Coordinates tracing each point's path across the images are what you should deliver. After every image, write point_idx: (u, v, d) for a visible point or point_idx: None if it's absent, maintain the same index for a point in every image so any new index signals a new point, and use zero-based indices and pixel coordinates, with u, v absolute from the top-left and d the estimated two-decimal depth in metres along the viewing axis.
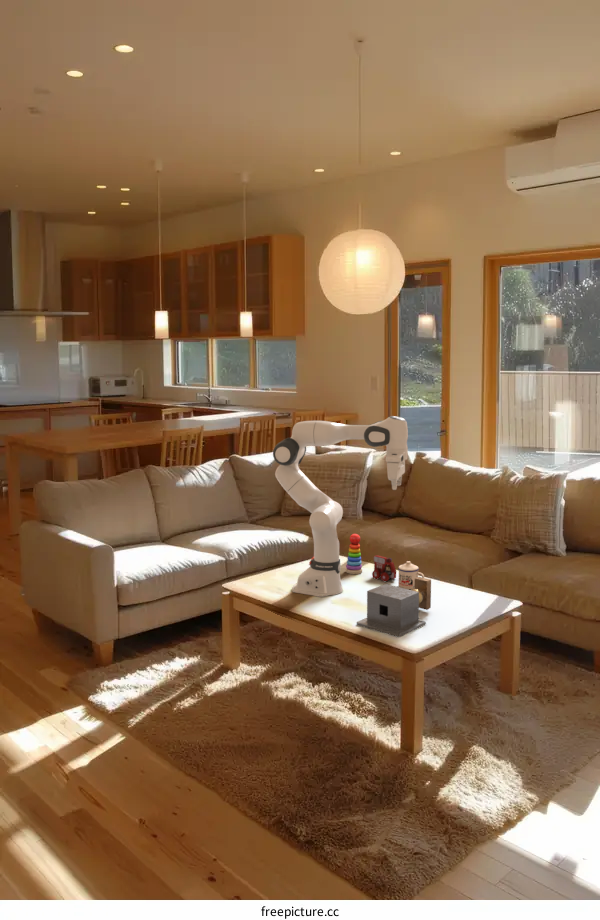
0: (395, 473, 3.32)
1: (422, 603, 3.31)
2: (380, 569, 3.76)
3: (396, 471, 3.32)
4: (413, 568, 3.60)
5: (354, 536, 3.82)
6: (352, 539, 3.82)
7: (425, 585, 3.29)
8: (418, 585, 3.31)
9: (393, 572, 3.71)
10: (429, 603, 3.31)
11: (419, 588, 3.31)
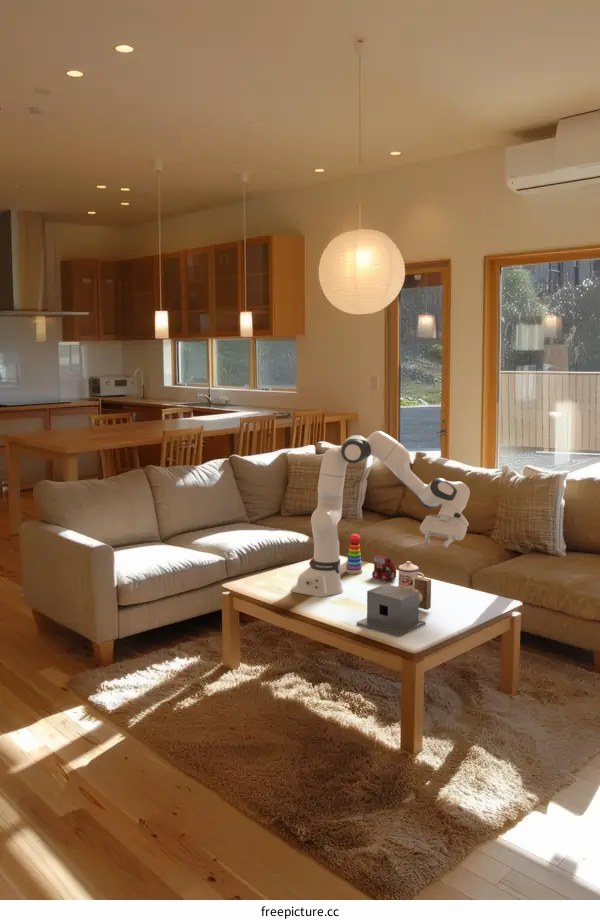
0: (464, 534, 3.32)
1: (422, 603, 3.31)
2: (380, 569, 3.76)
3: (465, 533, 3.33)
4: (413, 568, 3.60)
5: (354, 536, 3.82)
6: (352, 539, 3.82)
7: (425, 585, 3.29)
8: (418, 585, 3.31)
9: (393, 572, 3.71)
10: (429, 603, 3.31)
11: (419, 588, 3.31)
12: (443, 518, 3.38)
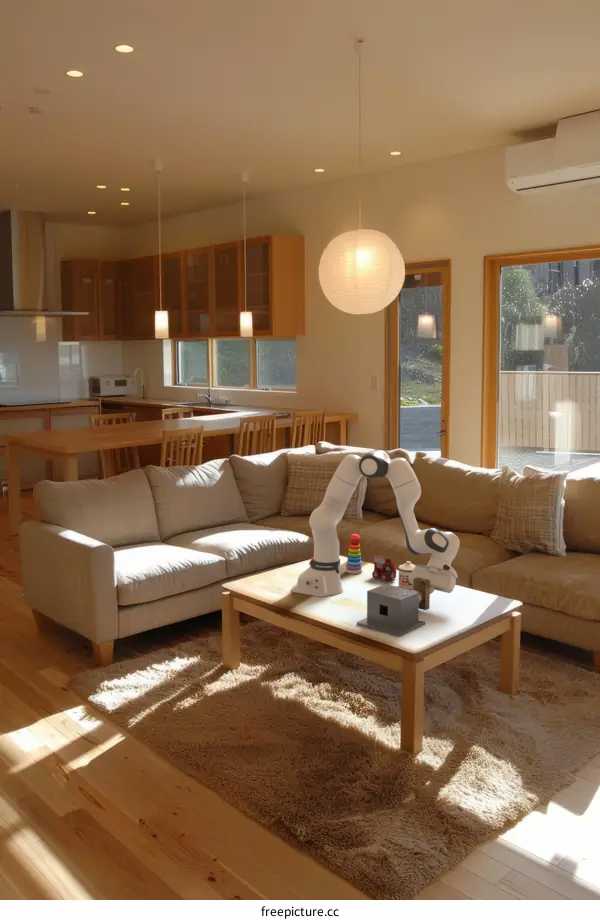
0: (453, 587, 3.30)
1: (421, 604, 3.30)
2: (380, 569, 3.76)
3: (454, 585, 3.31)
4: (413, 568, 3.60)
5: (354, 536, 3.82)
6: (352, 539, 3.82)
7: (423, 585, 3.28)
8: (417, 585, 3.30)
9: (393, 572, 3.71)
10: (428, 604, 3.30)
11: (418, 589, 3.30)
12: (432, 569, 3.35)
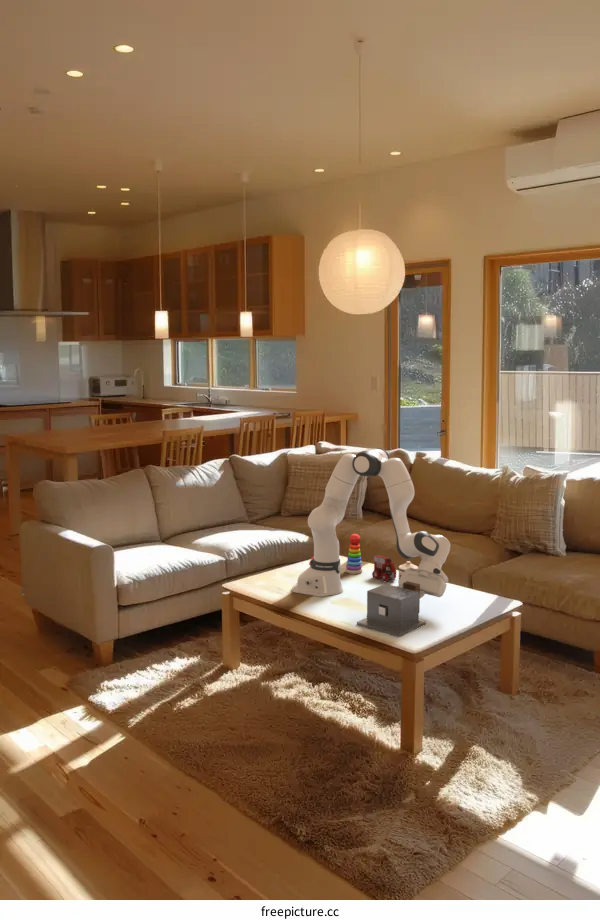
0: (444, 591, 3.25)
1: None
2: (380, 569, 3.76)
3: (444, 589, 3.26)
4: (413, 568, 3.60)
5: (354, 536, 3.82)
6: (352, 539, 3.82)
7: (413, 590, 3.23)
8: None
9: (393, 572, 3.71)
10: None
11: None
12: (422, 573, 3.30)
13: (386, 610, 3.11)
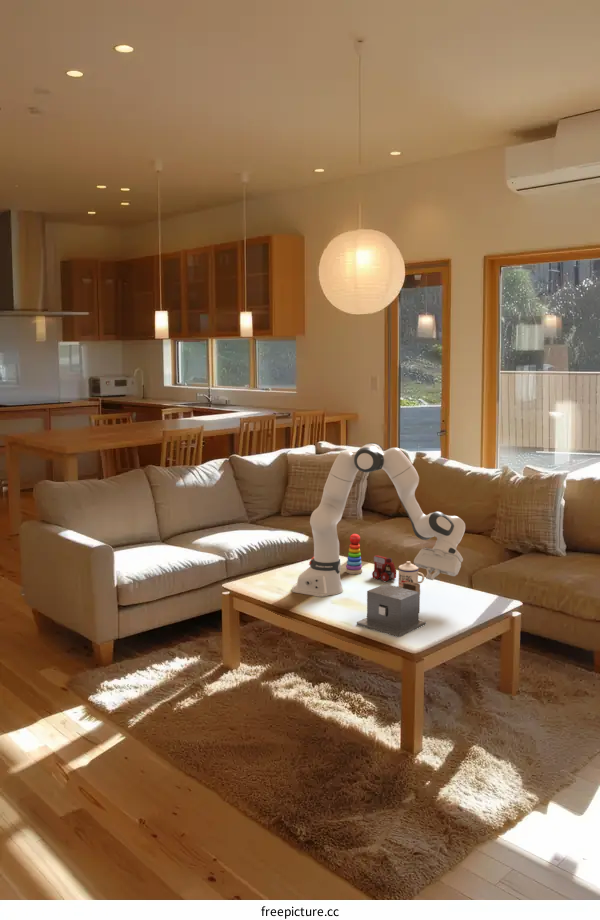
0: (458, 570, 3.32)
1: None
2: (380, 569, 3.76)
3: (459, 569, 3.33)
4: (413, 568, 3.60)
5: (354, 536, 3.82)
6: (352, 539, 3.82)
7: (413, 589, 3.23)
8: None
9: (393, 572, 3.71)
10: None
11: None
12: (438, 553, 3.37)
13: (386, 610, 3.11)
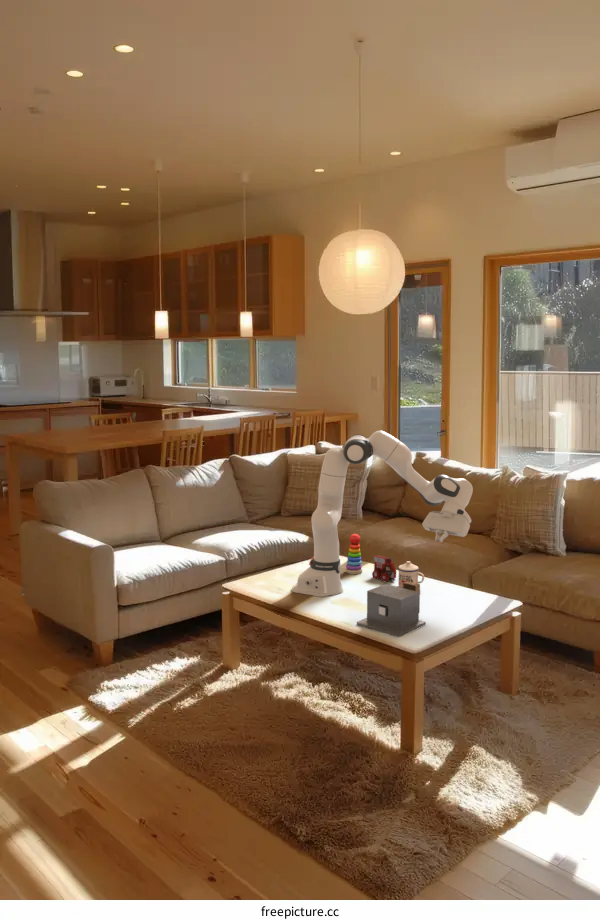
0: (467, 530, 3.34)
1: None
2: (380, 569, 3.76)
3: (468, 529, 3.34)
4: (413, 568, 3.60)
5: (354, 536, 3.82)
6: (352, 539, 3.82)
7: (413, 589, 3.23)
8: None
9: (393, 572, 3.71)
10: None
11: None
12: (446, 514, 3.39)
13: (386, 610, 3.11)
